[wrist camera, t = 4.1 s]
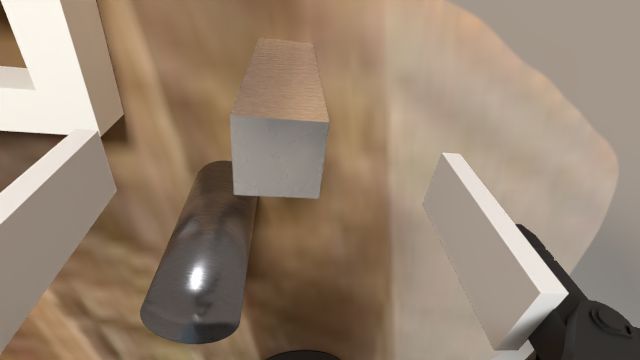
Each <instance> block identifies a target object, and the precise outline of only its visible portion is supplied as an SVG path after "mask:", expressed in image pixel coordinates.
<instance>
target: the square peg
mask: <svg viewBox="0 0 640 360" xmlns="http://www.w3.org/2000/svg"><path fill="white" fill-rule="evenodd" d="M230 126H231V146H232V166H233V186H234V195H249V196H271V197H294V198H317V199H319V194H320V187H321V180H322V172H323V165H324V158H325V150H326V143H327V136H328V128H329V119H328V114H327V109H326V104H325V100H324V95H323V90H322V85H321V81H320V76H319V71H318V66H317V62H316V57H315V52H314V47H313V43H308V42H298V41H288V40H278V39H268V38H259V40H258V42H257V45H256V48H255V50H254V53H253V56H252V58H251V61H250V64H249V66H248V69H247V71H246V74H245V77H244V79H243V82H242V85H241V87H240V90H239V93H238V95H237V98H236V101H235V103H234V106H233V109H232V111H231V114H230Z"/></svg>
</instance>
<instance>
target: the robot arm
mask: <svg viewBox="0 0 640 360" xmlns="http://www.w3.org/2000/svg"><path fill="white" fill-rule="evenodd" d="M116 191H117V189H116V186H115V183H114V180H113V176H112V173H111V170H110V167H109V164H108V160H107V157H106V154H105V151H104V148H103V144H102V141H101V138H100V135H99V132H98V131H97V130H82V129H75V130H74V131H73V132H71V133H70V134H69V135H68V136H67V137H65V138H64V139H63V140H62V141H61V142H60V143H58V144H57V145H56V146H55V147H54V148H53V149H51V150H50V151H49V152H48V153H47V154H46V155H44V156H43V157H42V158H41V159H40V160H39V161H37V162H36V163H35V164H34V165H33V166H31V167H30V168H29V169H28V170H27V171H26V172H24V173H23V174H22V175H21V176H20V177H19V178H17V179H16V180H15V181H14V182H13V183H12V184H10V185H9V186H8V187H7V188H6V189H5V190H3V191H2V192H1V193H0V354H1V353H2V351H3V350H4V348H5V347H6V346H7V344H8V343H9V341H10V340H11V339H12V337H13V336H14V334H15V333H16V332H17V330H18V329H19V327H20V326H21V324H22V323H23V322H24V320H25V319H26V317H27V316H28V315H29V313H30V312H31V310H32V309H33V308H34V306H35V305H36V303H37V302H38V301H39V299H40V298H41V296H42V295H43V294H44V292H45V291H46V289H47V288H48V287H49V285H50V284H51V282H52V281H53V280H54V278H55V277H56V275H57V274H58V273H59V271H60V270H61V268H62V267H63V266H64V264H65V263H66V261H67V260H68V259H69V257H70V256H71V254H72V253H73V252H74V250H75V249H76V247H77V246H78V245H79V243H80V242H81V240H82V239H83V238H84V236H85V235H86V233H87V232H88V231H89V229H90V228H91V226H92V225H93V224H94V222H95V221H96V219H97V218H98V217H99V215H100V214H101V212H102V211H103V210H104V208H105V207H106V205H107V204H108V203H109V201H110V200H111V198H112V197H113V196H114V194H115V193H116ZM422 205H423V207H424V209H425V211H426V213H427V215H428V217H429V219H430V221H431V223H432V225H433V227H434V229H435V231H436V233H437V235H438V237H439V239H440V241H441V244H442V246H443V248H444V250H445V252H446V254H447V256H448V258H449V260H450V262H451V264H452V266H453V268H454V270H455V272H456V274H457V276H458V278H459V280H460V282H461V284H462V286H463V288H464V290H465V292H466V295H467V297H468V299H469V301H470V303H471V305H472V307H473V309H474V311H475V313H476V315H477V317H478V319H479V321H480V323H481V325H482V327H483V329H484V331H485V333H486V335H487V337H488V339H489V341H490V344H491V346H492V348H493V350H519V348H520V347H521V346H522V345H523V344H524V343H525V342H526V341H527V340H529V341H530V343H531V345H532V346H533V348H534V351H533V352H532V353H531V354H530V355H529V356H528V357H527V358H526V359H525V360H640V328H636V327H633V326H632V325H631V324H630V323H629V321H628V320H627V319H625V318H624V317H623V316H622V315H621V314H620V313H619V312H617V311H615V310H614V309H612V308H610V307H609V306H607V305H605V304H602V303H600V302H597V301H591V300H588V298H587V297H586V296H585V295H584V294H583V293H582V291H581V290H580V289H579V288H578V286H577V285H576V284H575V283H574V282H573V280H572V279H571V278H570V277H569V275H568V274H567V273H566V272H565V271H564V269H563V268H562V267H561V266H560V265H559V263H558V262H557V261H554V257H553V256H552V255H551V254H550V252H549V251H548V250H546V249H545V246H544V245H543V244H542V243H541V242H540V240H539V239H538V238H537V237H536V235H534V234H533V233H532V232H530V231H529V230H528V229H526V228H525V227H524V226H523V225H521V224H514V223H513V221H512V220H511V219H510V218H509V216H508V215H507V214H506V213H505V211H504V210H503V209H502V207H501V206H500V205H499V204H498V202H497V201H496V200H495V199H494V197H493V196H492V195H491V193H490V192H489V191H488V190H487V188H486V187H485V186H484V184H483V183H482V182H481V181H480V179H479V178H478V177H477V176H476V174H475V173H474V172H473V170H472V169H471V168H470V167H469V165H468V164H467V163H466V161H465V160H464V159H463V158H462V156H461V155H460V154H452V153H442V154H441V157H440V159H439V162H438V165H437V167H436V170H435V172H434V175H433V178H432V180H431V183H430V186H429V188H428V191H427V194H426V196H425V199H424V202H423V204H422ZM267 360H339V359H338V358H336V357H334V356H332V355H329V354H326V353H321V352H315V351H295V352H288V353H284V354H280V355H277V356H274V357H272V358H269V359H267Z"/></svg>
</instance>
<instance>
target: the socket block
mask: <svg viewBox="0 0 640 360" xmlns="http://www.w3.org/2000/svg"><path fill="white" fill-rule="evenodd" d="M1 2H2V5H3V7H4V10H5V12H6V15H7V18H8V20H9V23H10V25H11V28H12V30H13V33H14V35H15V38H16V40H17V43H18V46H19V48H20V51H21V53H22V56H23V58H24V61H25V63H26V66H27V68H17V67H5V66H0V131H16V132H32V133H48V134H65V135H69V134H70V133H71V132H73V131H74V130H75V129H82V130H97V131H98V132H99V135H100V137H101V136H102V135H103V134H104V133H105V132H106V131H107V130H108V129H109V128H110V127H111V126H112V125H113V124H114V123H115V122H116V121H118V120H119V119H120V118H121V117H122V116H123V115H124V112H123V108H122V104H121V100H120V96H119V92H118V88H117V84H116V80H115V76H114V72H113V67H112V63H111V59H110V55H109V51H108V47H107V43H106V39H105V35H104V31H103V27H102V23H101V19H100V15H99V11H98V7H97V2H96V0H1Z"/></svg>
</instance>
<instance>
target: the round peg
mask: <svg viewBox="0 0 640 360" xmlns="http://www.w3.org/2000/svg"><path fill="white" fill-rule="evenodd" d="M257 198H258V196H249V195H234V186H233V166H232V161H216V162H212V163H210V164H208V165H206V166H204V167H203V168H202V169H201V170H200V171H199V173H198V175H197V177H196V179H195V181H194V184H193V186H192V188H191V191H190V193H189V196H188V198H187V200H186V203H185V205H184V207H183V210H182V212H181V214H180V217H179V219H178V222H177V224H176V226H175V229H174V231H173V233H172V236H171V238H170V240H169V243H168V245H167V248H166V250H165V252H164V255H163V257H162V259H161V262H160V264H159V266H158V269H157V271H156V274H155V276H154V278H153V281H152V283H151V285H150V288H149V290H148V292H147V295H146V297H145V300H144V302H143V304H142V307H141V310H140V316H141V320H142V322H143V323H144V325H145V326H146V327H147V328H148V329H149V330H150V331H152V332H153V333H155V334H156V335H158V336H160V337H162V338H165V339H168V340H171V341H174V342H179V343H186V344H205V343H212V342H216V341H219V340H222V339H224V338H226V337H228V336H230V335H231V334H232V333H234V332H235V331H236V329H237V328H238V326H239V323H240V318H241V311H242V303H243V296H244V289H245V282H246V275H247V268H248V261H249V254H250V247H251V240H252V233H253V226H254V219H255V212H256V205H257Z"/></svg>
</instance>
